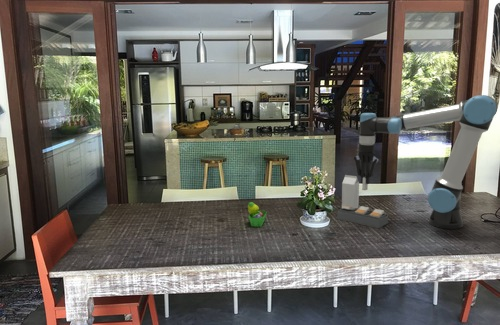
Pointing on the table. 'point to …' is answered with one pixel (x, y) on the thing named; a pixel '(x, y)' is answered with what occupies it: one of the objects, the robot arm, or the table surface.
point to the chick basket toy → (256, 215)
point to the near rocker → (377, 213)
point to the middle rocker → (362, 210)
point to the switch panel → (362, 218)
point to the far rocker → (348, 207)
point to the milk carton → (350, 191)
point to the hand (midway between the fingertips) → (364, 189)
